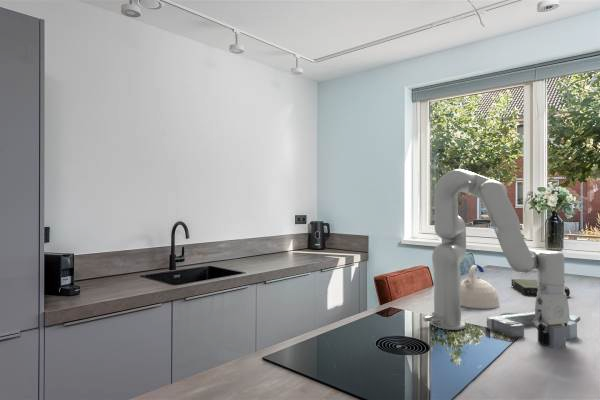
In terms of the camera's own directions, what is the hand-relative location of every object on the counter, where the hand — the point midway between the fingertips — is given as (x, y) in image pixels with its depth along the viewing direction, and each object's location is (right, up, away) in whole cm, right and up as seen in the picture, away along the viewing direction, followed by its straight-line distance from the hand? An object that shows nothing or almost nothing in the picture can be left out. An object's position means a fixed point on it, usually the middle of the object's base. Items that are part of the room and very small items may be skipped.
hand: (551, 342), depth 129 cm
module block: (0, -1, 0) cm, 1 cm away
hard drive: (+22, -1, +30) cm, 37 cm away
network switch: (+42, -2, +75) cm, 86 cm away
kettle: (-2, -1, +53) cm, 53 cm away
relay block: (+10, -1, +7) cm, 13 cm away
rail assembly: (+2, -1, +15) cm, 15 cm away
